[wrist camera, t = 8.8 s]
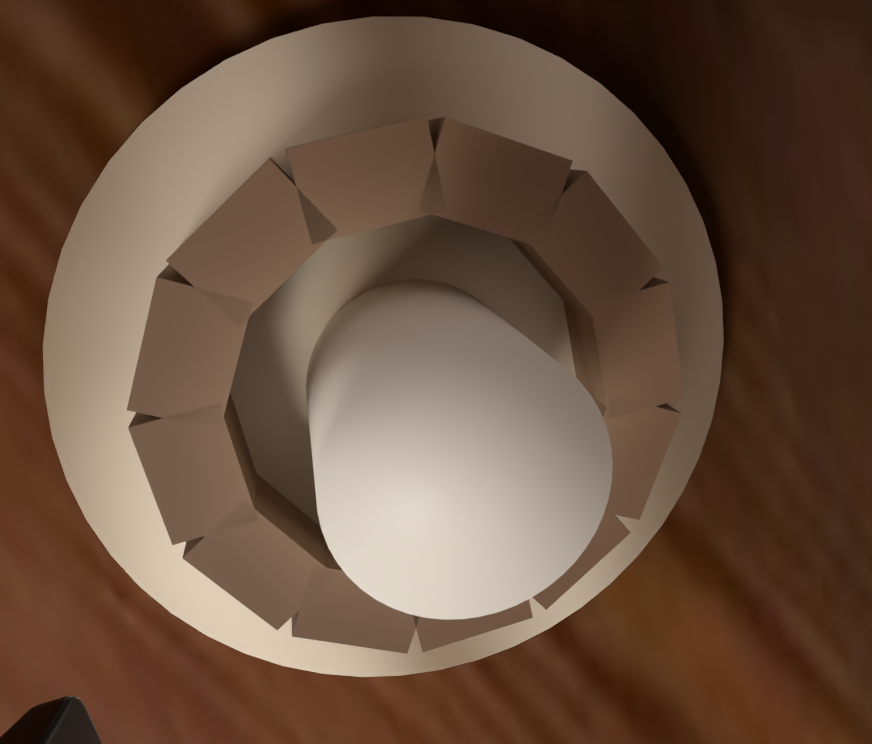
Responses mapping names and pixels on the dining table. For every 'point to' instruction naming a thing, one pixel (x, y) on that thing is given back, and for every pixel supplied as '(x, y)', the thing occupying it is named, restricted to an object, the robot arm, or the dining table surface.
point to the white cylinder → (450, 453)
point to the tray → (342, 282)
